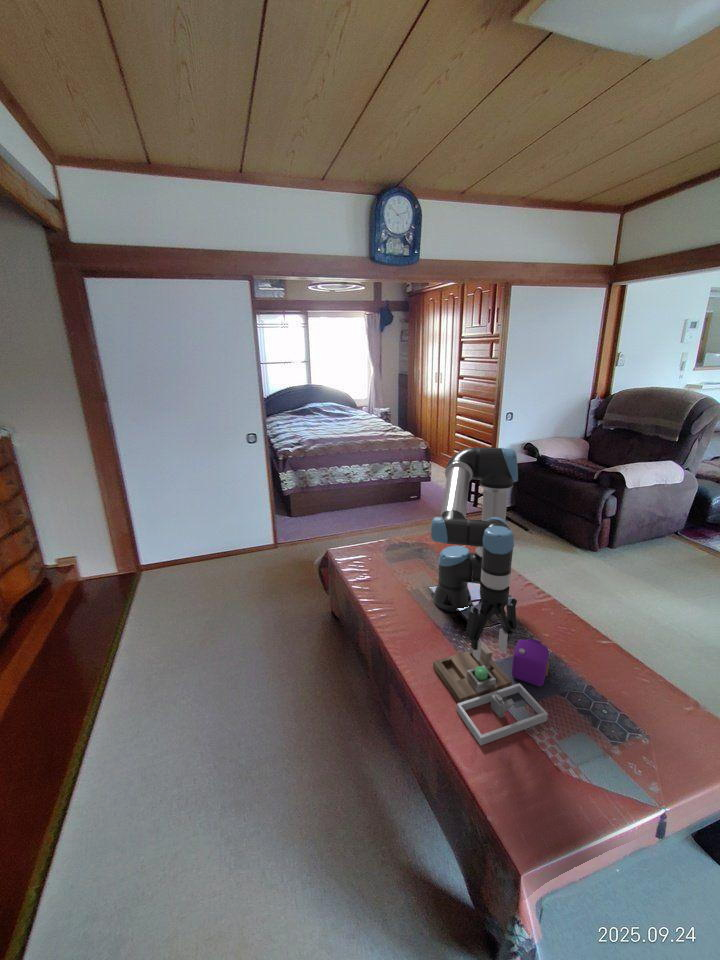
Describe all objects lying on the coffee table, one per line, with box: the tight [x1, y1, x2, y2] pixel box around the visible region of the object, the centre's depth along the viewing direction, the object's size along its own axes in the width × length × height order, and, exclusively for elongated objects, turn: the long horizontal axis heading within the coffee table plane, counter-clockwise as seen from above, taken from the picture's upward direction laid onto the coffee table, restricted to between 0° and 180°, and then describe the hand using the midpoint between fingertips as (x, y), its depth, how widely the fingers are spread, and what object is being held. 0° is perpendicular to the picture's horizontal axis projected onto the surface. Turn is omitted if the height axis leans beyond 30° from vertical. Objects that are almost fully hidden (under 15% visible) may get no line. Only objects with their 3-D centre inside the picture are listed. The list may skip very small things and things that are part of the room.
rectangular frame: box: [456, 683, 549, 747], centre depth 114 cm, size 22×12×2 cm, turn 109°
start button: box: [475, 666, 488, 682], centre depth 122 cm, size 4×4×4 cm
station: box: [432, 641, 513, 704], centre depth 127 cm, size 18×16×8 cm
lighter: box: [490, 694, 515, 719], centre depth 114 cm, size 7×2×8 cm, turn 23°
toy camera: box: [511, 638, 550, 687], centre depth 129 cm, size 11×14×10 cm
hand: (489, 653), depth 116 cm, fingers open, 8 cm apart
